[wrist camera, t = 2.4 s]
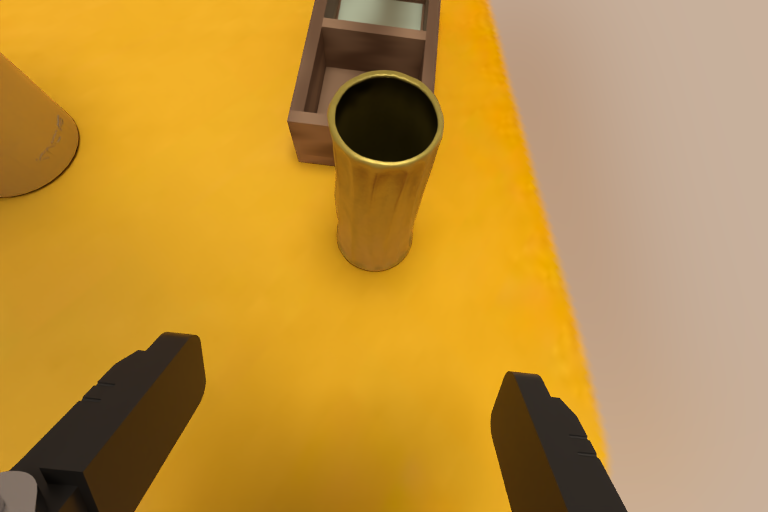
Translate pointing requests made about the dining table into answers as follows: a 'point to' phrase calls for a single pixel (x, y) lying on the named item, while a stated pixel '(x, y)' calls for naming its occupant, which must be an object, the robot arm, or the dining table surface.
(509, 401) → the robot arm
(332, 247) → the dining table surface
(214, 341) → the dining table surface
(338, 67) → the wooden compartment tray
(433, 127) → the vase
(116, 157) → the dining table surface
